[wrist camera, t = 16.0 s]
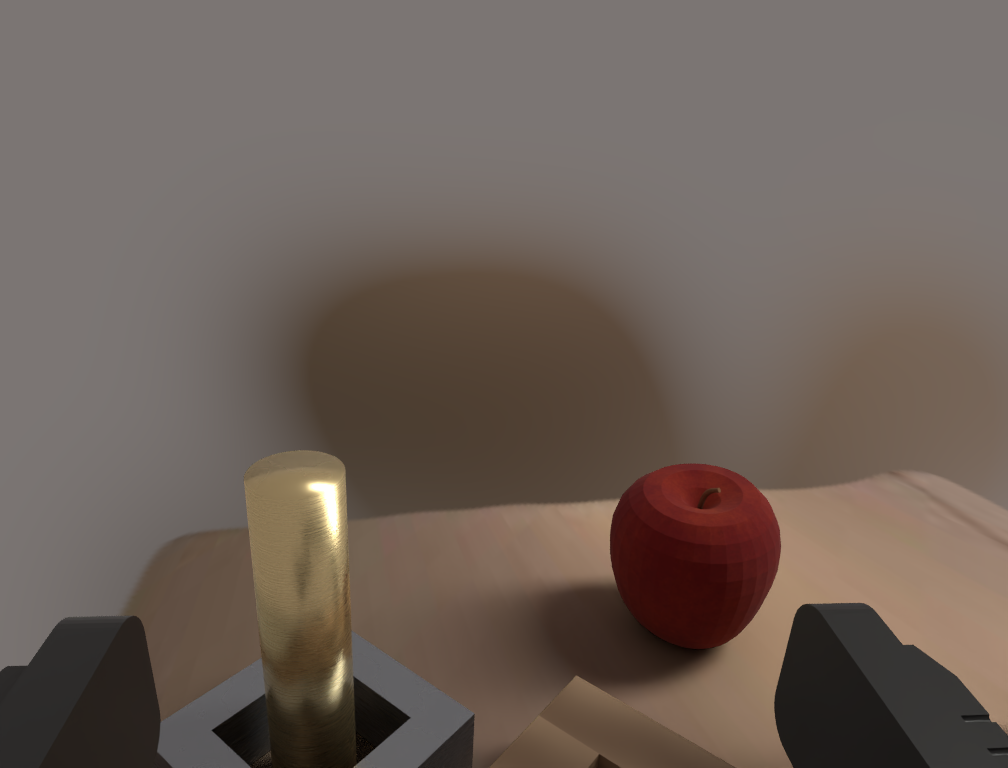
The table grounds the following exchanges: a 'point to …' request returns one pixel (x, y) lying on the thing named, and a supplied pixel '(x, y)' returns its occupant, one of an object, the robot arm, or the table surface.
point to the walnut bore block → (600, 737)
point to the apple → (694, 553)
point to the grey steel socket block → (378, 718)
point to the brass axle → (303, 606)
